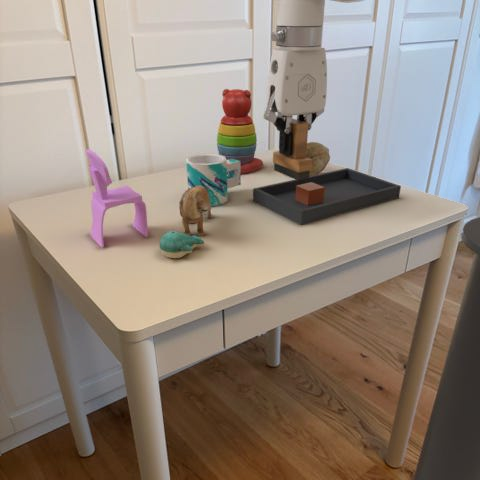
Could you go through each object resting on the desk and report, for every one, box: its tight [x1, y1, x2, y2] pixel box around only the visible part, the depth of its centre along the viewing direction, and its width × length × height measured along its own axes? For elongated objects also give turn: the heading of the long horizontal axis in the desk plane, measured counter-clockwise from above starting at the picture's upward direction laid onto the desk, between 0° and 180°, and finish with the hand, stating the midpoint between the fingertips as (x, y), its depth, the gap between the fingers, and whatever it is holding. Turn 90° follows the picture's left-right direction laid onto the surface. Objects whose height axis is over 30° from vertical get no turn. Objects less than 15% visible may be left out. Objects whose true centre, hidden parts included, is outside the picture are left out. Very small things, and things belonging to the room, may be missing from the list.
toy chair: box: [85, 148, 149, 249], centre depth 82 cm, size 8×9×15 cm
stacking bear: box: [216, 88, 264, 175], centre depth 115 cm, size 11×10×18 cm
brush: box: [272, 118, 312, 180], centre depth 91 cm, size 8×3×10 cm, turn 33°
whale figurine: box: [158, 230, 205, 259], centre depth 80 cm, size 6×7×4 cm
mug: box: [185, 153, 242, 208], centre depth 101 cm, size 8×12×8 cm
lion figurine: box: [179, 185, 213, 237], centre depth 87 cm, size 15×5×9 cm, turn 3°
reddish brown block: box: [295, 182, 325, 206], centre depth 98 cm, size 4×4×3 cm
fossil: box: [306, 141, 331, 176], centre depth 115 cm, size 9×4×10 cm
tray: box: [252, 167, 402, 226], centre depth 100 cm, size 26×16×3 cm, turn 123°
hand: (292, 152), depth 91 cm, fingers closed on brush, 2 cm apart
